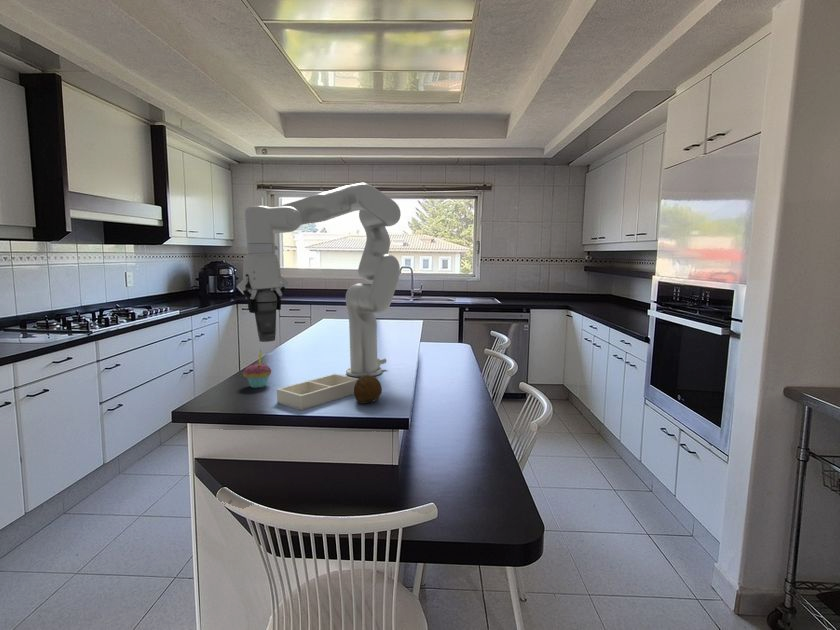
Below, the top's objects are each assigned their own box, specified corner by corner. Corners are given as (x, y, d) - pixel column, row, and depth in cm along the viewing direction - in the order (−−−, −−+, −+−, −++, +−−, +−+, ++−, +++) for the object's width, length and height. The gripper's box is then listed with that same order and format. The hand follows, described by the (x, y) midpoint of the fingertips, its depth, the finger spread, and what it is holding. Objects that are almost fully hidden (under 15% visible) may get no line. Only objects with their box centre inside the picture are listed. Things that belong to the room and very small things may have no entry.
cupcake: (277, 383, 154) (275, 347, 153) (258, 390, 147) (256, 352, 145) (257, 381, 158) (255, 345, 156) (237, 387, 150) (235, 350, 149)
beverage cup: (272, 343, 136) (267, 273, 133) (249, 342, 137) (244, 273, 134) (284, 338, 143) (280, 271, 140) (262, 337, 144) (257, 272, 142)
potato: (376, 394, 141) (376, 369, 140) (387, 406, 130) (387, 379, 129) (349, 397, 139) (348, 371, 138) (358, 410, 127) (357, 382, 126)
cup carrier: (335, 385, 151) (334, 373, 151) (359, 391, 144) (359, 379, 144) (277, 402, 134) (276, 389, 134) (301, 410, 127) (301, 396, 127)
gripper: (279, 249, 145) (282, 307, 148) (225, 250, 132) (230, 313, 134) (294, 249, 141) (297, 308, 143) (240, 250, 127) (245, 315, 130)
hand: (265, 310), depth 139 cm, fingers closed on beverage cup, 7 cm apart
